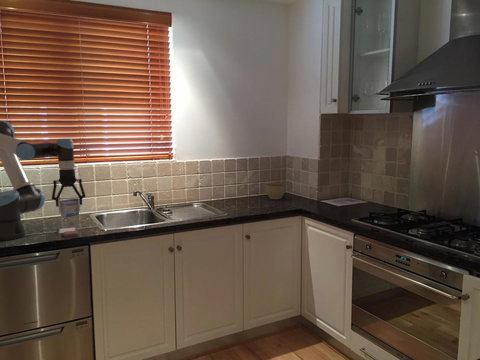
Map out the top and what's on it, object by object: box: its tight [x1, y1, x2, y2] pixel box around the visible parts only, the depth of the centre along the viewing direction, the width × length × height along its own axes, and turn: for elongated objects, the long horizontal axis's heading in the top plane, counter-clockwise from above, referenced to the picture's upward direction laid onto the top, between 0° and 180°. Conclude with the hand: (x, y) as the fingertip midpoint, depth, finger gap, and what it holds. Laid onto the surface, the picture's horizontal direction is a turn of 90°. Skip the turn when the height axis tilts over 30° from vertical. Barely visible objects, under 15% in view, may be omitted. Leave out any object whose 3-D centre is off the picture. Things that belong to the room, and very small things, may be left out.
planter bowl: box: [264, 182, 287, 200], centre depth 317 cm, size 16×16×11 cm
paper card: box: [57, 225, 78, 235], centre depth 227 cm, size 10×13×1 cm
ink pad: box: [63, 229, 79, 238], centre depth 218 cm, size 7×7×2 cm
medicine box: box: [59, 197, 80, 218], centre depth 216 cm, size 8×4×9 cm, turn 145°
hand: (69, 211), depth 217 cm, fingers closed on medicine box, 9 cm apart
